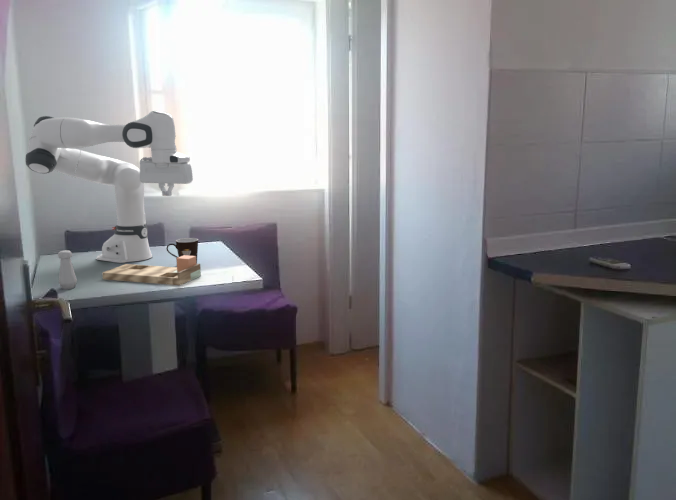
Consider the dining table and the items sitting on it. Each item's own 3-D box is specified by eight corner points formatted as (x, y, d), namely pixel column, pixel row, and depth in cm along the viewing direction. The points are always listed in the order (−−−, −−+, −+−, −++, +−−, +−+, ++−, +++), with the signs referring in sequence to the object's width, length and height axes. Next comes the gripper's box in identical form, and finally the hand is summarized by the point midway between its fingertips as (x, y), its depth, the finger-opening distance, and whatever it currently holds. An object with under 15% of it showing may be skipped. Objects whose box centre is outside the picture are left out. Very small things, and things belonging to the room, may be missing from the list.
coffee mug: (203, 263, 252) (202, 238, 250) (192, 268, 244) (190, 242, 242) (178, 261, 256) (177, 237, 254) (166, 266, 248) (164, 241, 246)
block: (177, 271, 229) (176, 258, 228) (184, 268, 233) (184, 255, 232) (189, 272, 227) (188, 259, 226) (196, 269, 232) (195, 256, 231)
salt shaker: (62, 285, 221) (58, 249, 218) (79, 285, 222) (76, 248, 219) (56, 290, 215) (52, 252, 213) (74, 289, 216) (70, 252, 213)
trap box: (102, 279, 229) (101, 267, 228) (126, 270, 242) (125, 258, 241) (180, 285, 220) (179, 272, 219) (200, 275, 233) (200, 263, 232)
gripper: (134, 157, 228) (137, 196, 230) (184, 158, 221) (186, 197, 224) (144, 156, 233) (147, 194, 236) (193, 156, 227) (196, 195, 230)
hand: (167, 195), depth 230 cm, fingers closed
